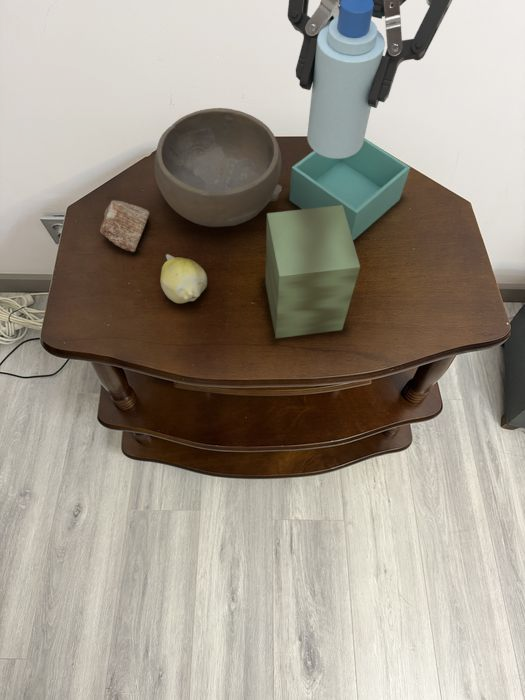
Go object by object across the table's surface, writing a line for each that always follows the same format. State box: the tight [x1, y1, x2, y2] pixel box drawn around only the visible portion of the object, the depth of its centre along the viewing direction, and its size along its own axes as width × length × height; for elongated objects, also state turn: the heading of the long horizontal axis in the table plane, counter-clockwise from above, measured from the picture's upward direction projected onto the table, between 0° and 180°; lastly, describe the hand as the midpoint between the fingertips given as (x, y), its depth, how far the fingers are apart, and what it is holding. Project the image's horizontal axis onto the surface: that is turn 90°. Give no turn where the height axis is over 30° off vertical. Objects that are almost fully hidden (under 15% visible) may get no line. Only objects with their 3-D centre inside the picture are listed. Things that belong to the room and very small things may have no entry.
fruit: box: [159, 253, 208, 304], centre depth 71 cm, size 6×6×10 cm
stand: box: [264, 205, 361, 339], centre depth 66 cm, size 9×9×14 cm
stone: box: [99, 200, 150, 253], centre depth 76 cm, size 7×6×5 cm
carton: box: [288, 137, 411, 241], centre depth 78 cm, size 12×12×6 cm
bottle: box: [306, 0, 386, 159], centre depth 47 cm, size 6×6×13 cm
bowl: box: [153, 107, 283, 228], centre depth 76 cm, size 17×18×10 cm
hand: (338, 95), depth 46 cm, fingers closed on bottle, 5 cm apart
